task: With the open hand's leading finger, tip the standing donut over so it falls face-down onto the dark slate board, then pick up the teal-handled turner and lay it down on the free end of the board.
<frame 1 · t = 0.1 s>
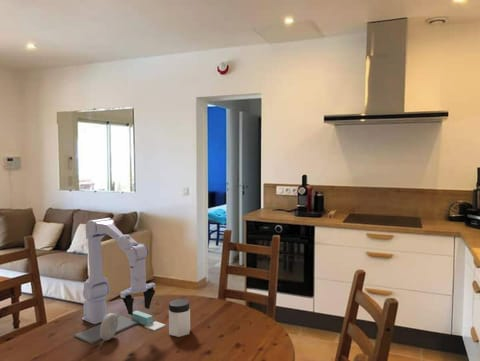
hand: (138, 311, 152), 10 cm above the table, fingers open, 7 cm apart
slate board: (107, 329, 159), on the table
jar: (179, 332, 156), on the table
donut: (108, 339, 150), on the table, touching slate board
turner: (142, 322, 166), on the table
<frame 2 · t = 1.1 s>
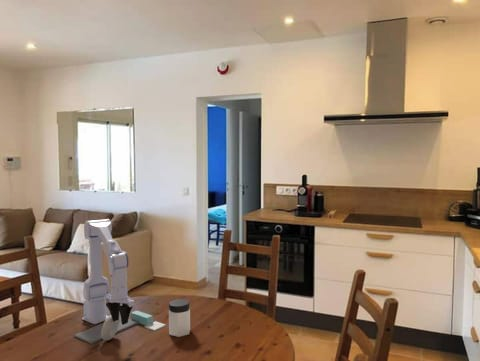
hand: (120, 322, 146), 9 cm above the table, fingers open, 5 cm apart
donut: (108, 338, 150), on the table, touching gripper
everything else where it was.
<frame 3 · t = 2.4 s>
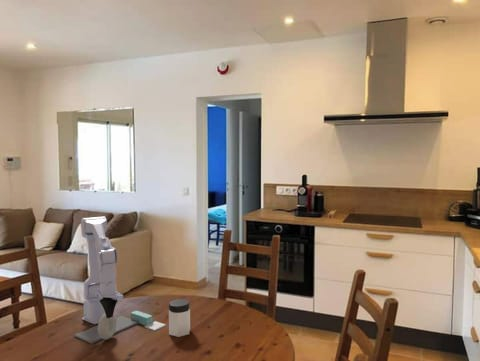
hand: (109, 317, 148), 9 cm above the table, fingers closed, pressing on donut
donut: (108, 338, 150), on the table, touching gripper, slate board
everything else where it was.
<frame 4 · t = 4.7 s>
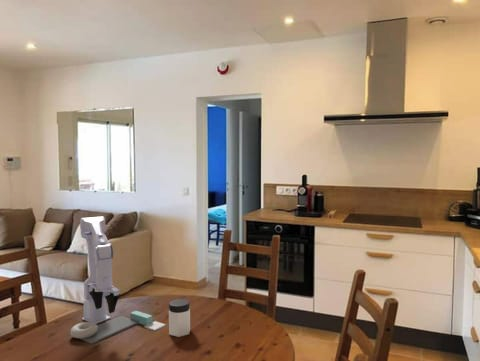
hand: (105, 310, 152), 10 cm above the table, fingers open, 7 cm apart
donut: (93, 332, 150), point 3 cm above the table, touching slate board
everything else where it was.
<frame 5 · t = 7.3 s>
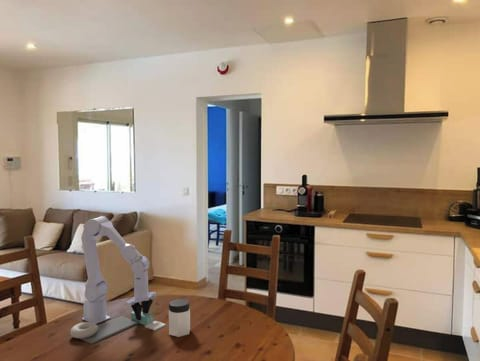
hand: (141, 318, 166), 2 cm above the table, fingers closed on turner, 3 cm apart
turner: (141, 321, 166), on the table, touching gripper
everything else where it was.
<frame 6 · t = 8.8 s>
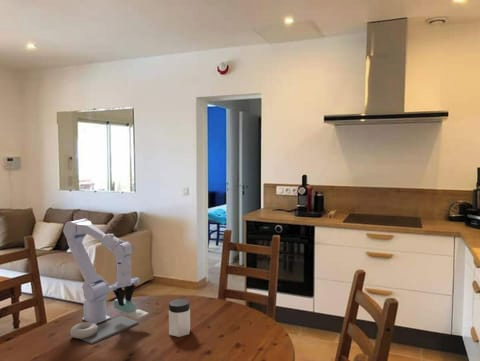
hand: (124, 304, 163), 9 cm above the table, fingers closed on turner, 3 cm apart
turner: (124, 309, 164), point 6 cm above the table, touching gripper
everything else where it was.
when the fingers open (3 cm above the table, at t = 10.1 s): turner stays where it is, resting on slate board.
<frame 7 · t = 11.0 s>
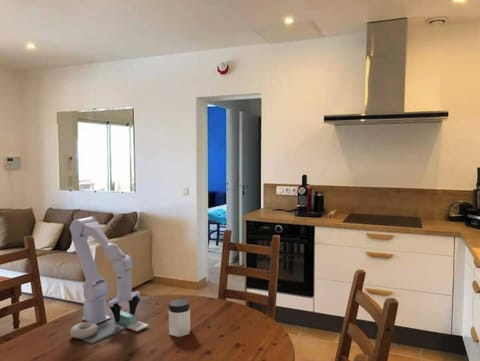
hand: (125, 318, 164), 3 cm above the table, fingers open, 7 cm apart
turner: (125, 322, 164), point 1 cm above the table, touching slate board
everything else where it was.
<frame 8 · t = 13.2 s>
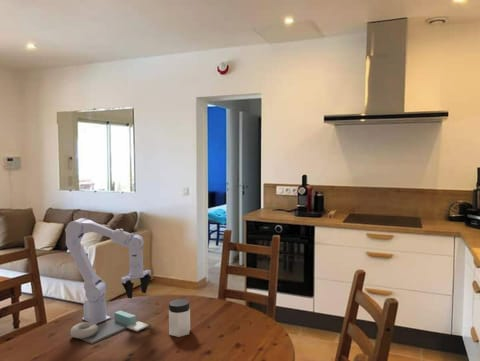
hand: (137, 295, 169), 10 cm above the table, fingers open, 7 cm apart
nothing on the table moved.
at the end: donut tilted 91°; donut touching slate board; turner inside the target area (0.0 cm from its centre), point 0.8 cm above the table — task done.
